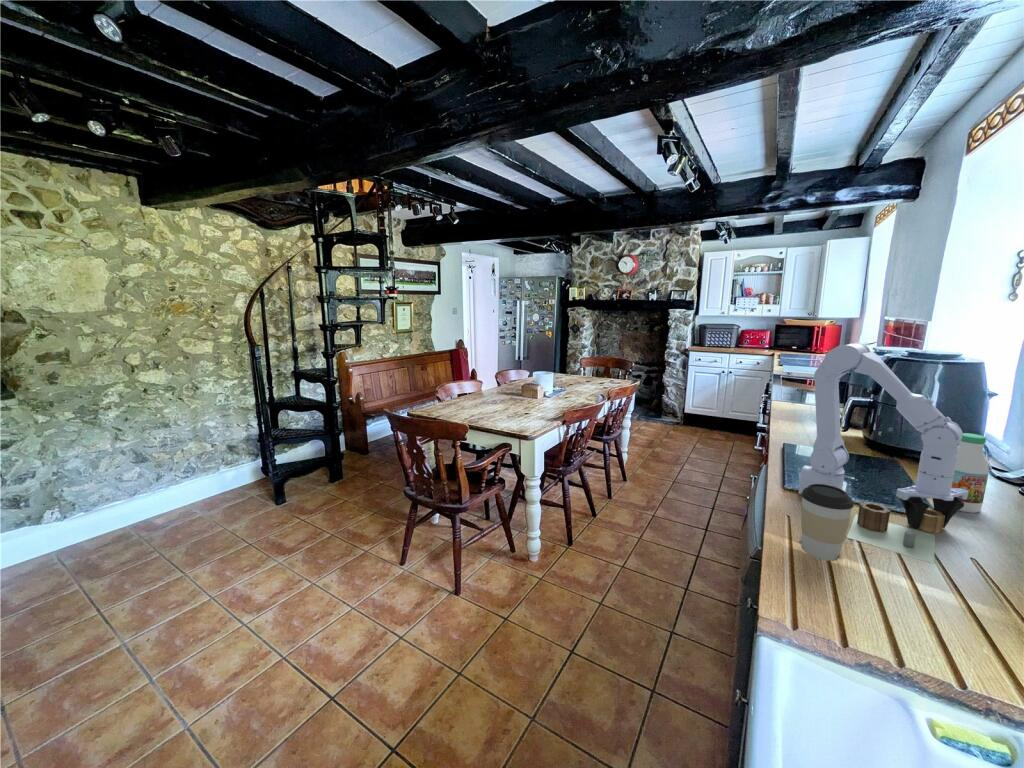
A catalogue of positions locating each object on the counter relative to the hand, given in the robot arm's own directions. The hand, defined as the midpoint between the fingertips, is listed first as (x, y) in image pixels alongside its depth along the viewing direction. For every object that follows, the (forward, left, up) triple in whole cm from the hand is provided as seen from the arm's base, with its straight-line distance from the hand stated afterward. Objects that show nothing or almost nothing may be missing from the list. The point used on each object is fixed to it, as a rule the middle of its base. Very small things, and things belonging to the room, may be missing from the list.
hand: (925, 526), depth 96 cm
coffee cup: (-16, -27, -2) cm, 31 cm away
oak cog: (0, 0, -1) cm, 1 cm away
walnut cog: (-9, -8, 0) cm, 12 cm away
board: (-5, -11, -1) cm, 12 cm away
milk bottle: (+6, +23, -2) cm, 24 cm away
